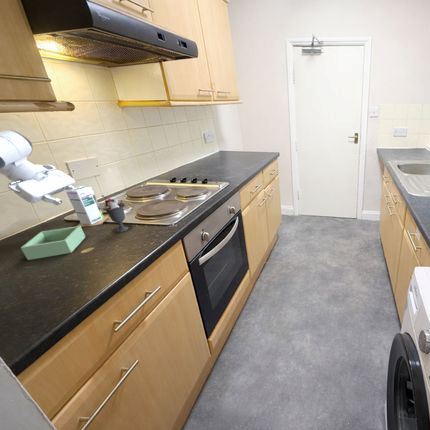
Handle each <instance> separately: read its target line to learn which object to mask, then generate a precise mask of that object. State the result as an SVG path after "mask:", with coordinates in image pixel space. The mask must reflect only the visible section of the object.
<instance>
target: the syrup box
mask: <svg viewBox="0 0 430 430" xmlns="http://www.w3.org/2000/svg"><path fill="white" fill-rule="evenodd" d="M65 193H66V195H67V197H68V199H69V201H70V203H71V205H72V208H73V210H74V212H75V215H76V216H77V218H78V220H79V223H80V222H81V223H82V224H94V223H96V222H98V221H100V220H102V219H104V216H105V215H104V213H103V211H102V208H101V207H100V204H99V202H98V200H97V198H96V195H95V193H94V190H93V188H92V186H89V185H80V186H77V187H74V189H71V190H65Z"/></svg>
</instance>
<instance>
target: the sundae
mask: <svg viewBox="0 0 430 430" xmlns="http://www.w3.org/2000/svg"><path fill="white" fill-rule="evenodd" d="M101 197H102V198H105V200H104V203H105V204H104V206H103V208H102V210H103V211H105V212H106V214H107V215H109V216H108V217H109V218H110V219H111V221H112V222H114V223H117V224H118V226H119V228H117V230H116V232H118V233H121V232H126V231H128V230H129V227H128V226H124V223H123V222H124V220H125V219H126V215H125V210H124V207H125V206H126V204H125V203H123V199H121V200H120V202H119V200H118V199H116V198H115V199H114V198H109V197H108V196H105V195H104V194H103V195H101Z"/></svg>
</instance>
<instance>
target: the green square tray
mask: <svg viewBox="0 0 430 430" xmlns="http://www.w3.org/2000/svg"><path fill="white" fill-rule="evenodd" d="M82 228H83V227H81V226H77V225H76V226H70V227H64V228H63V227H62V228H57V229H49V230H43V231H40V232H38V233H37V234H36V235H34V237H33V238H31V239H29V240H28V241H27V242H26V243H25V244H23V245H22V246H21V247H20V250H21V252H22V253H23V255H24V256H25V258H26V259H27V261H30V260H37V259H43V258H48V257H54V256H55V257H56V256H60V255H65V254H71V253H73V252H74V251H75V249H76V248H77V247H78V246H79V245H80V244H81V243H82V242H83V241H84V239H85V238H86V235H85V233H84V231H83V229H82Z"/></svg>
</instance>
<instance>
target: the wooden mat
mask: <svg viewBox="0 0 430 430" xmlns="http://www.w3.org/2000/svg"><path fill="white" fill-rule="evenodd" d="M103 216H104V219H102V220H100V221H98V222H96V223H94V224H82V223H81V222H80V221H79V223H78V224H77V225H76V226H81V228H85V227H91V226H98V225H103V223H104V222H105V221H106V220H107V219H108V218H109V217H110V216H109V214H107V215H103Z"/></svg>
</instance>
